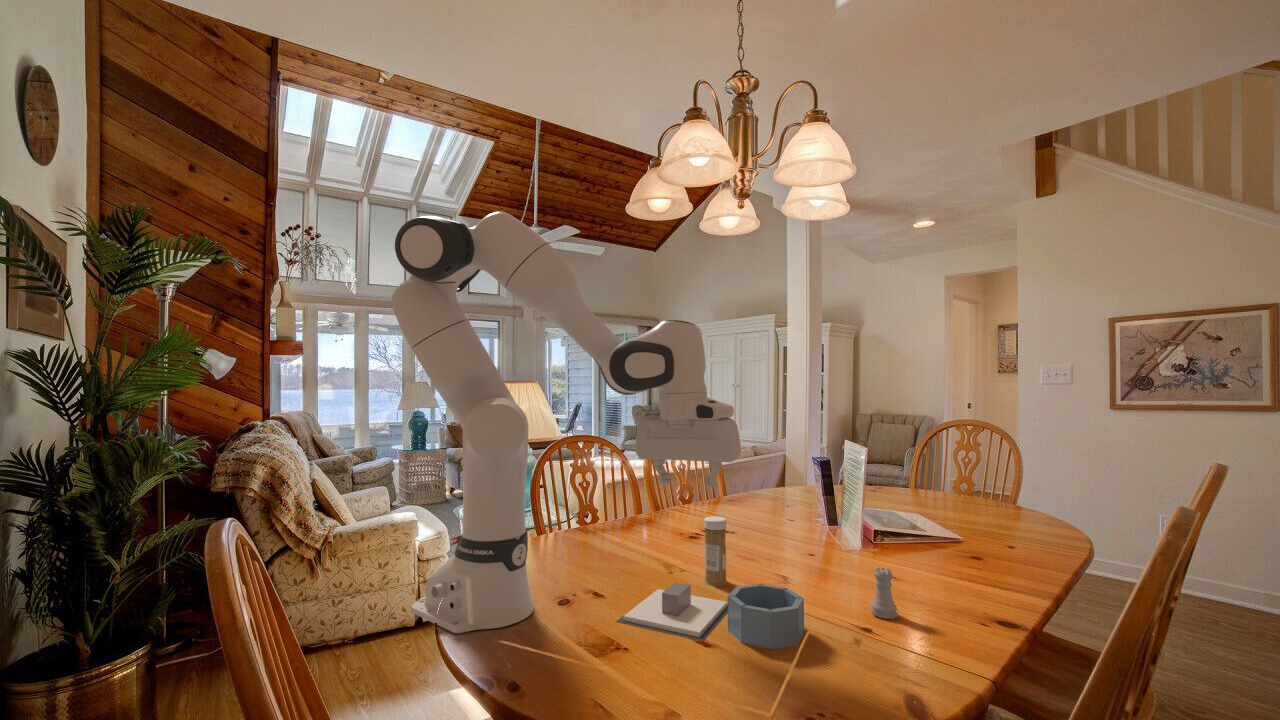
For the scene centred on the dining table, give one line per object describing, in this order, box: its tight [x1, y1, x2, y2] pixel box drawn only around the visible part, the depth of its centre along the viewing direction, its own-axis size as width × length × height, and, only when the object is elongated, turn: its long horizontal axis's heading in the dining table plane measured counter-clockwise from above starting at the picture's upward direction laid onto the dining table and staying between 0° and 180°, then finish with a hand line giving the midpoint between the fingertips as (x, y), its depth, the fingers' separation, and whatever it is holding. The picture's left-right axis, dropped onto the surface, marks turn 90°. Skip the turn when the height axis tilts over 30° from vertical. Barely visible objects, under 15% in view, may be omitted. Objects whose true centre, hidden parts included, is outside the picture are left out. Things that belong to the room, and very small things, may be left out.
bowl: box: [727, 583, 805, 651], centre depth 91 cm, size 12×12×6 cm
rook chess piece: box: [870, 567, 898, 620], centre depth 98 cm, size 4×4×8 cm
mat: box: [615, 591, 728, 642], centre depth 98 cm, size 16×16×1 cm
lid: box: [623, 581, 728, 637], centre depth 98 cm, size 14×14×4 cm
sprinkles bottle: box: [703, 515, 727, 587], centre depth 114 cm, size 5×5×14 cm
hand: (687, 485), depth 99 cm, fingers open, 8 cm apart
